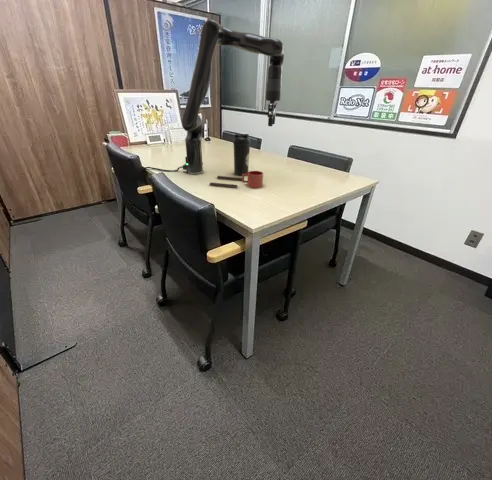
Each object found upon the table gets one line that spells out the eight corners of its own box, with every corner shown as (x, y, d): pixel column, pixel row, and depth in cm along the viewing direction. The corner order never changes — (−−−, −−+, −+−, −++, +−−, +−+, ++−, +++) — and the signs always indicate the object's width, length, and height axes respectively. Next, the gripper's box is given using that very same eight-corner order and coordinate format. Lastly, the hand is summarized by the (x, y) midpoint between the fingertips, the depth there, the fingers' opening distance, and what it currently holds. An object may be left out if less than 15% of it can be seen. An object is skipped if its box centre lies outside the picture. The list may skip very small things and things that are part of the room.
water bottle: (247, 177, 157) (249, 136, 145) (231, 175, 159) (231, 135, 147) (250, 172, 166) (252, 133, 154) (234, 171, 167) (235, 132, 156)
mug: (263, 184, 146) (264, 171, 143) (261, 188, 139) (261, 175, 136) (243, 182, 149) (244, 169, 145) (240, 186, 142) (240, 173, 138)
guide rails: (209, 185, 143) (209, 182, 142) (217, 178, 154) (217, 175, 154) (236, 188, 140) (236, 185, 139) (242, 180, 151) (242, 177, 150)
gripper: (268, 89, 138) (266, 123, 146) (263, 89, 126) (262, 126, 134) (282, 89, 136) (280, 123, 145) (279, 90, 125) (276, 127, 133)
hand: (271, 125), depth 139 cm, fingers open, 8 cm apart
